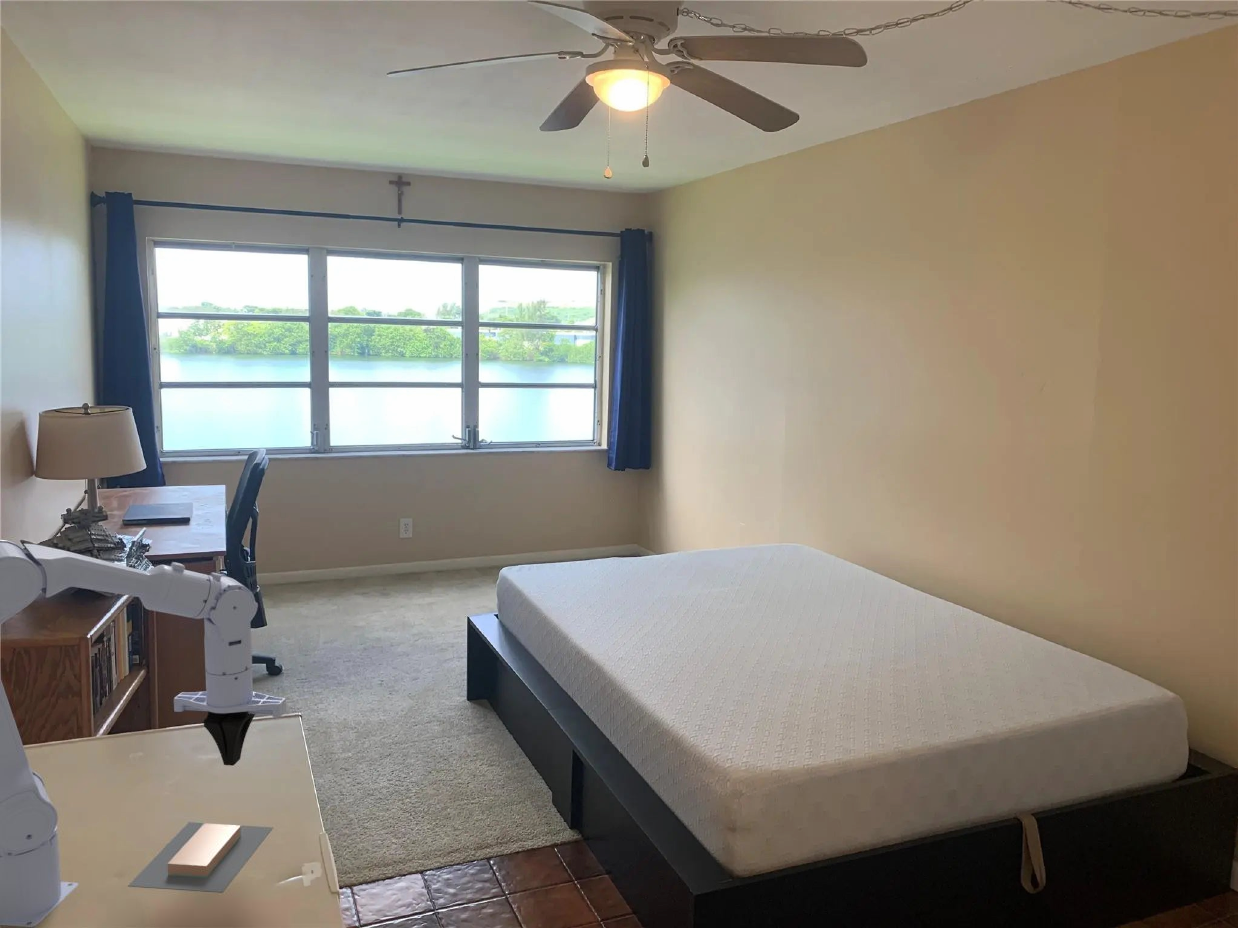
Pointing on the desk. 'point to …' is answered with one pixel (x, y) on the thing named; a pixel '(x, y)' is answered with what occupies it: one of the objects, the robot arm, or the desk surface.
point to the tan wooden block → (204, 850)
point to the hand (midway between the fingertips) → (232, 761)
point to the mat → (218, 878)
